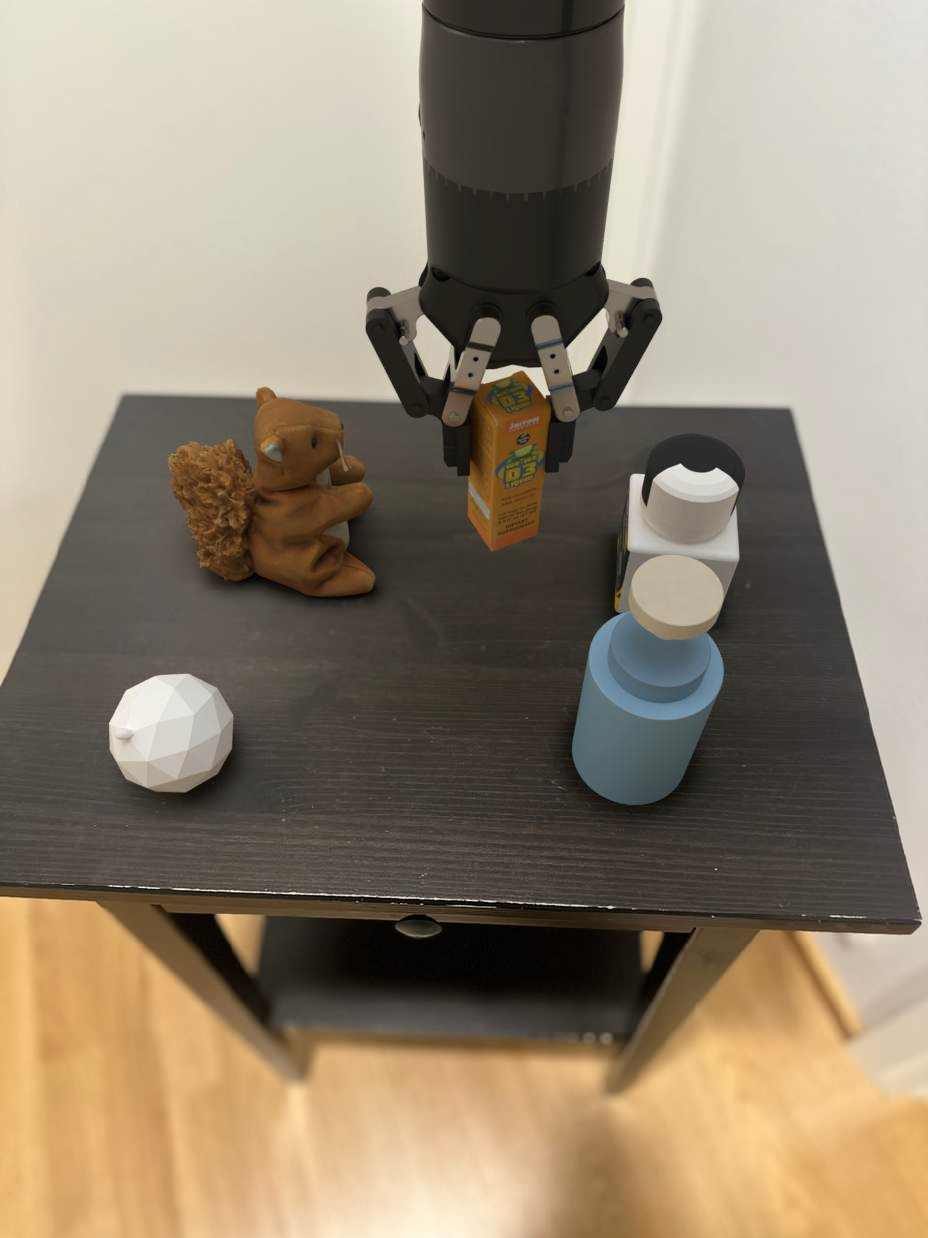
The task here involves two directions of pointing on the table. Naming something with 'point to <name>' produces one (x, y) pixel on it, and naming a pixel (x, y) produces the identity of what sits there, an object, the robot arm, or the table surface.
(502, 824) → the table surface
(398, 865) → the table surface
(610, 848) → the table surface
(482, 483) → the supplement box
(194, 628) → the table surface
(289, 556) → the stuffed squirrel
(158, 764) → the ornament
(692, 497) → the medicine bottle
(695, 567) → the disc
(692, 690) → the pump bottle
